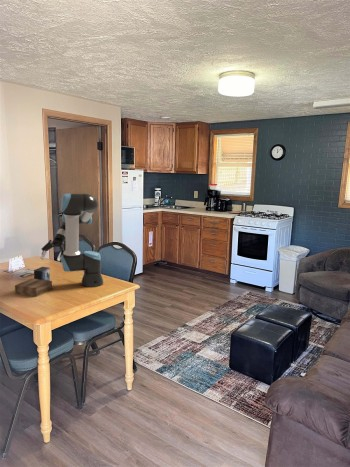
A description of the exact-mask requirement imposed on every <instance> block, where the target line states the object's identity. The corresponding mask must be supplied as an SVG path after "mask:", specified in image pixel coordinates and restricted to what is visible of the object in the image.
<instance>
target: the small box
mask: <svg viewBox="0 0 350 467" xmlns="http://www.w3.org/2000/svg"><path fill="white" fill-rule="evenodd" d="M50 270H51V269H50V267H47V266H41V267H38V268H35V269H34V270H33V279H40V280H48V281H51V277H50V276H51V274H50V272H51V271H50Z"/></svg>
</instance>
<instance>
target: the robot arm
mask: <svg viewBox="0 0 350 467" xmlns="http://www.w3.org/2000/svg"><path fill="white" fill-rule="evenodd" d="M98 208H99V202H98V200H97V198H96V197H95V196H93V195H92V194H88V193H64V194H62V196H61V199H60V212H61V213H62V216H61V221H60V226H59V228H58V230H57V232H56V234H55V236H54V239H53V240H51V239H49V240H48V242H47V243H46V244H45V245H44V246H42V247H41V251H42V252H41V256H40V259H41V260H42V261H43V260H44V258H45V256H46V255H47V252H48V251H49V250H50V249H53V248H59V249H60V252H59V254H58V256H57V259H56V261H57V262H60V261H61V266H62V269H63V271H64V272H65V273H66V272H67V273H69V272H70V273H71V272H81V271H83V276H82V277H81V278H82V279H81V286H83V287H88V288H94V287H95V288H96V287H100V286H103V285H104V278H103V275H102V272H101V271H102V270H101V269H102V268H101V267H102V265H101V263H102V261H101V260H102V258H101V256H102V255H101V254H100V253H99V252H97V251H94V250H93V251H92V250H85V251H84V252H83V253H82V252H81V251H80V250H79V248H80V246H79V245H80V238H79V237H80V236H79V235H80V231H79V230H80V225H91V224H92V222H93V217H92V216H93V214H94V213H95V212H97V210H98Z"/></svg>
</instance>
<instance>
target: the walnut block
mask: <svg viewBox="0 0 350 467" xmlns="http://www.w3.org/2000/svg"><path fill="white" fill-rule="evenodd" d="M52 289H53V281H52V280H50V281H48V280H40V279H34V278H31V277H30V278H29V279H26V280H24V281H21V282H20V283H17V284H15V285H14V291H15V292H14V294H15V295H22V296H30V297H37V298H38V297H39V296H41V295H43V294H45V293H47V292H50V291H51V290H52Z"/></svg>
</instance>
